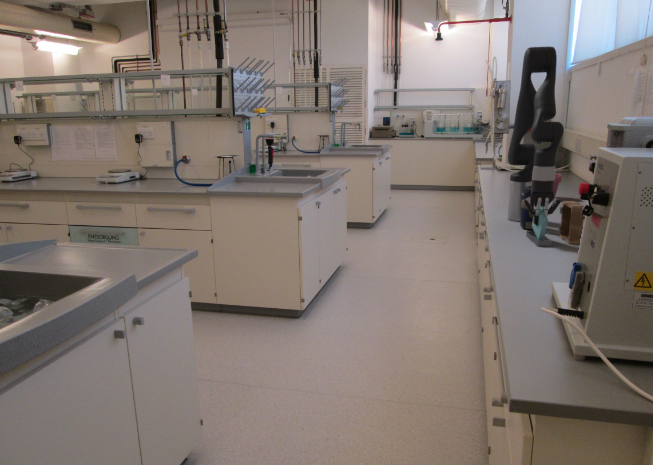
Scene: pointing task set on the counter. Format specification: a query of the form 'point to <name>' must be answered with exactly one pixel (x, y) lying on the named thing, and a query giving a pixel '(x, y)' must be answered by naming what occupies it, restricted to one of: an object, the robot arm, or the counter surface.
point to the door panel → (540, 225)
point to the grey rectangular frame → (532, 237)
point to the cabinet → (571, 222)
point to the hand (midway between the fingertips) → (539, 225)
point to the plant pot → (556, 182)
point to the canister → (525, 215)
